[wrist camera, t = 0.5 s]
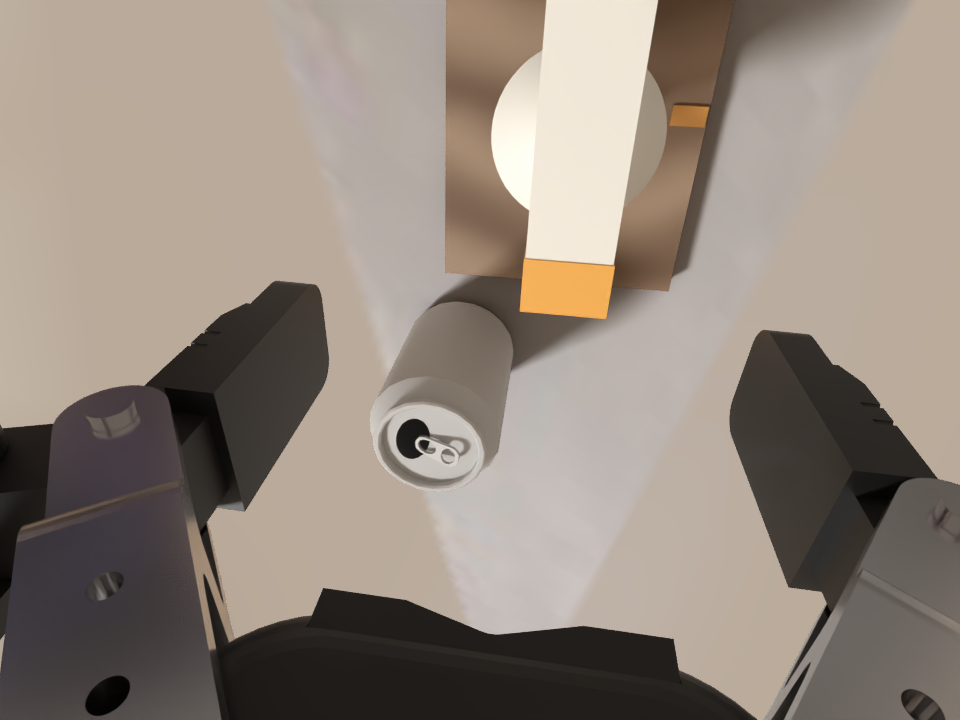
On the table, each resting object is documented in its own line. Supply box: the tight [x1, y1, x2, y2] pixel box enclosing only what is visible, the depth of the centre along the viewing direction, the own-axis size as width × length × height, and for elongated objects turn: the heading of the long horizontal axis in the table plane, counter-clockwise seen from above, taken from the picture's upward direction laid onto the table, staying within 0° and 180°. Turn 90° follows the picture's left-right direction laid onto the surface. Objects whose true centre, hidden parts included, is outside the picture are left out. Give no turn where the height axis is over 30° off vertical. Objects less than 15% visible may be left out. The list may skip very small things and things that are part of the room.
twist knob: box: [491, 0, 667, 319], centre depth 21 cm, size 10×7×8 cm
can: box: [370, 301, 514, 492], centre depth 35 cm, size 8×8×12 cm
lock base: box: [445, 0, 735, 291], centre depth 28 cm, size 20×14×8 cm
